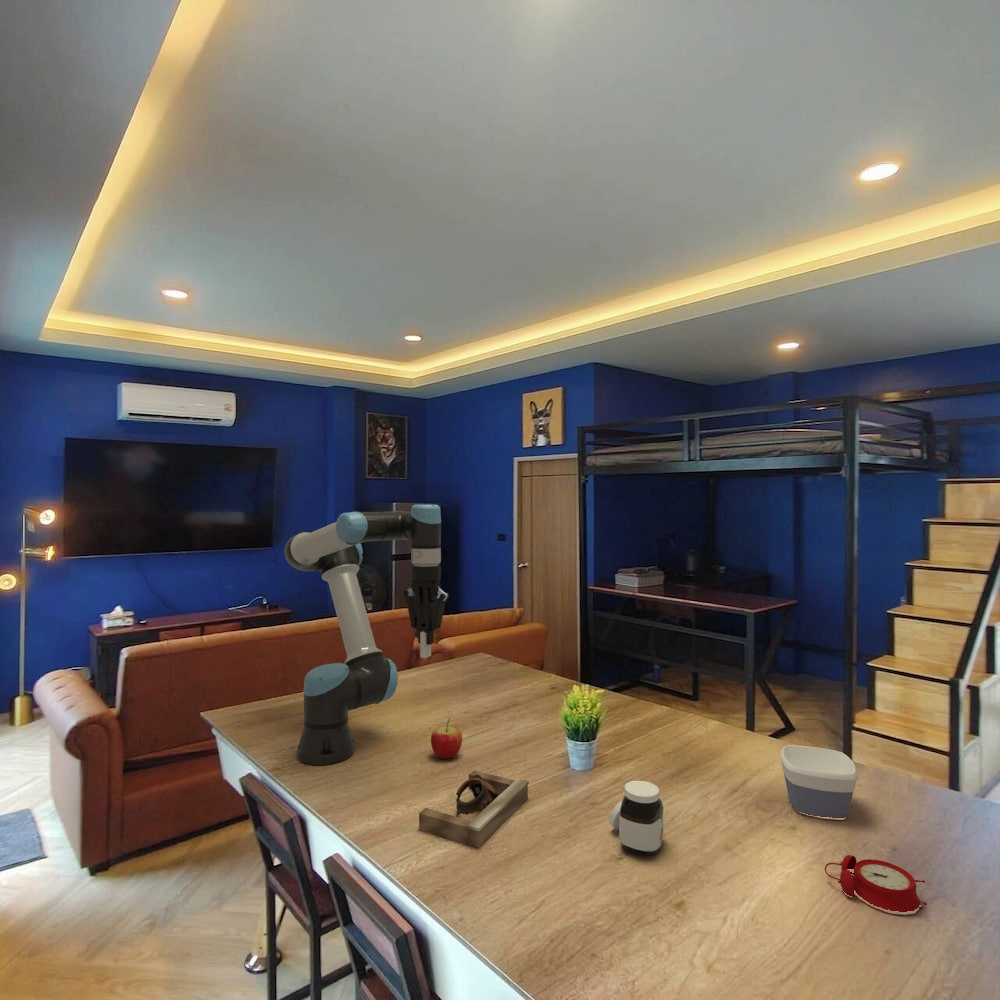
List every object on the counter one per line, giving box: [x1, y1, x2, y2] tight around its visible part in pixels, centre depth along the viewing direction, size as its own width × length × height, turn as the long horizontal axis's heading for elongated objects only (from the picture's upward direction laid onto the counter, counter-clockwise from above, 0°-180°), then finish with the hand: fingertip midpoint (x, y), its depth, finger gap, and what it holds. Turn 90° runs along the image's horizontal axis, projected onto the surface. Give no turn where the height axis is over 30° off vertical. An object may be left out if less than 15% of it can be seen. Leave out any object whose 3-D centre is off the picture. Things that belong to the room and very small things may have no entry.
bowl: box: [780, 744, 859, 818], centre depth 139 cm, size 15×15×11 cm
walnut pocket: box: [418, 770, 530, 849], centre depth 136 cm, size 15×23×4 cm, turn 152°
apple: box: [430, 717, 463, 760], centre depth 166 cm, size 8×8×10 cm
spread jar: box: [608, 780, 664, 857], centre depth 125 cm, size 12×11×12 cm
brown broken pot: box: [455, 774, 498, 816], centre depth 138 cm, size 12×10×8 cm
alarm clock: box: [824, 854, 928, 912], centre depth 109 cm, size 10×6×15 cm
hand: (425, 656), depth 157 cm, fingers closed
